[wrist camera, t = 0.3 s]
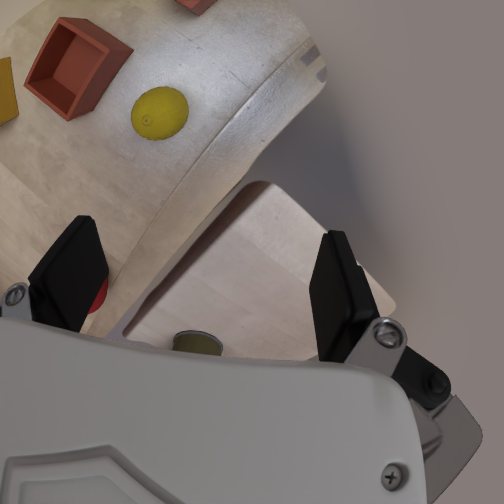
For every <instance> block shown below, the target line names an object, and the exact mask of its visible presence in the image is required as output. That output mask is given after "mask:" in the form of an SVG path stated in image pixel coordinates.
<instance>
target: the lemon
mask: <svg viewBox="0 0 504 504" xmlns="http://www.w3.org/2000/svg"><path fill="white" fill-rule="evenodd" d="M188 113H189V106H188V103H187V100H186V98H185V97H184V95H183V94H182V93H181V92H179V91H178V90H176V89H174V88H170V87H157V88H153V89H150V90H149V91H147V92H145V93H144V94H143V95H142V96H141V97H140V98H139V99H138V100H137V101H136V103H135V105H134V106H133V109H132V113H131V121H132V125H133V127H134V129H135V131H136V132H137V133H138V134H139V135H140V136H142V137H143V138H146V139H148V140H163V139H166V138H169V137H171V136H173V135H174V134H176V133H177V132H179V131H180V129H181V128H182V127H183V126H184V124H185V122H186V121H187V118H188Z"/></svg>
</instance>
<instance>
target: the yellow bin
mask: <svg viewBox="0 0 504 504" xmlns="http://www.w3.org/2000/svg"><path fill="white" fill-rule="evenodd" d="M18 115H19V112H18V108H17V103H16V97H15V91H14V85H13V78H12V70H11V61H10V57H8V58H3V59H0V126H2V125H3V124H5V123H6V122H8V121H9V120H11V119H13V118H14V117H16V116H18Z"/></svg>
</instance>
